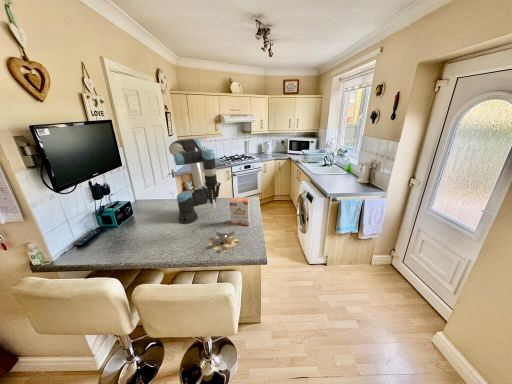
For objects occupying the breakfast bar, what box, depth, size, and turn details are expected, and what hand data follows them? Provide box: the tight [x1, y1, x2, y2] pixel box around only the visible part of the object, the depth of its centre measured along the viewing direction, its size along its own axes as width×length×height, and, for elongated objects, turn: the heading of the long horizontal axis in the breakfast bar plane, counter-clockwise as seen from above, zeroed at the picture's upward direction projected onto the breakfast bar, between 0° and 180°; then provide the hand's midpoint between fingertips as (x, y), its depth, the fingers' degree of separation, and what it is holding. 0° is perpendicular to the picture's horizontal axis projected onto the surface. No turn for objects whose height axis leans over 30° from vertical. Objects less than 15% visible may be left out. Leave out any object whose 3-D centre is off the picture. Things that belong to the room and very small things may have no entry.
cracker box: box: [229, 197, 251, 227], centre depth 152 cm, size 14×6×21 cm, turn 84°
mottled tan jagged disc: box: [206, 232, 242, 255], centre depth 132 cm, size 17×17×3 cm
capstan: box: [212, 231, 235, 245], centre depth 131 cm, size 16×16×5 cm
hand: (213, 207), depth 135 cm, fingers closed
